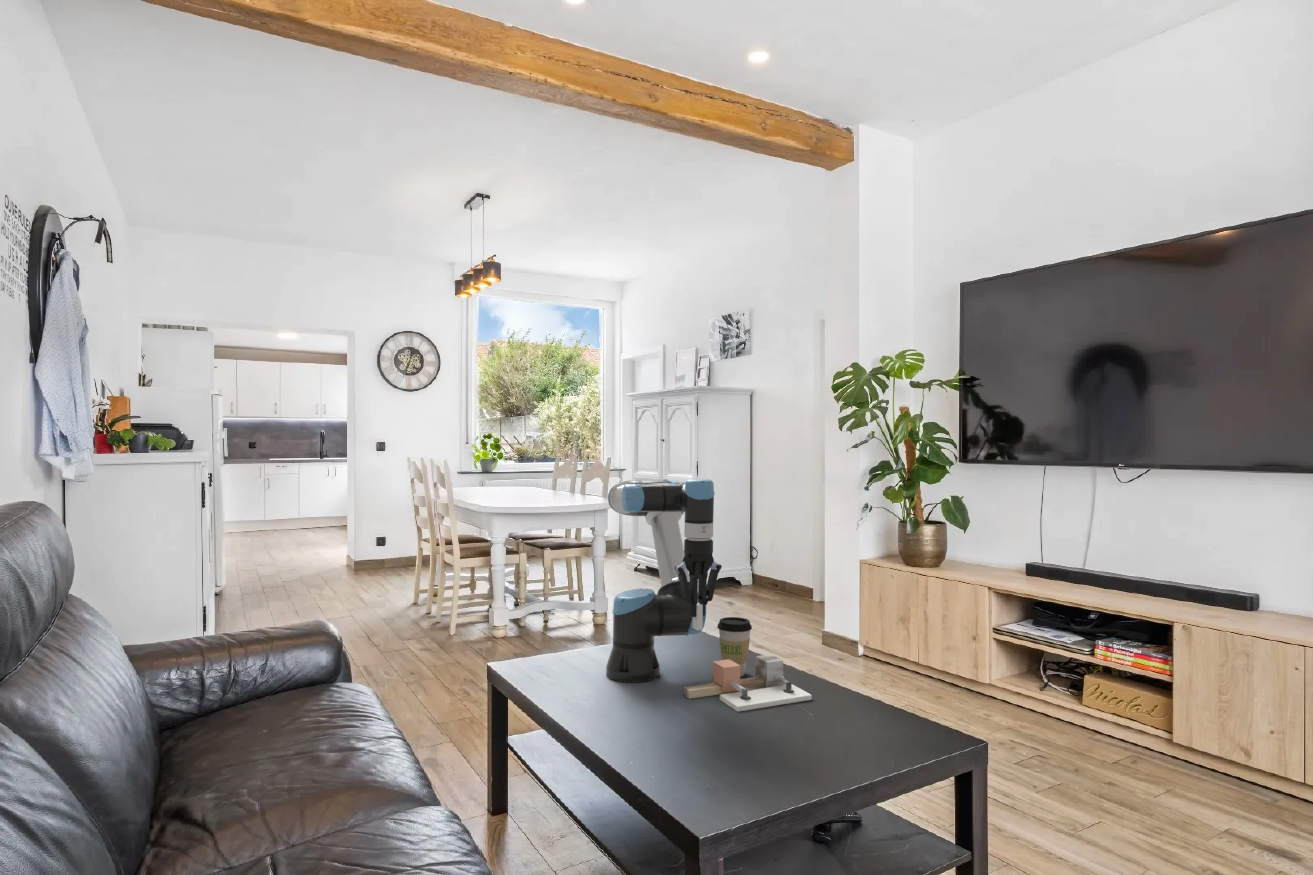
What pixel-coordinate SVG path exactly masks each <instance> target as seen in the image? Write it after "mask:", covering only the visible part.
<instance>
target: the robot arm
mask: <svg viewBox="0 0 1313 875" xmlns="http://www.w3.org/2000/svg"><path fill="white" fill-rule="evenodd" d="M715 494H716V493H715V486H714V481H713V480H711V479H705V478H689V479H687V480H686V481H685V482H682V483H680V482H678V481H677V480H673V479H672V480H671V479H666V478H665V479H661V480H660V479H658V480H657V479H655V480H654V479H651V480H650V479H648V480H647V479H632V480H631V479H630V480H625V481H621V482H619V483H615V485H613V486H612V487H611V488H610V489H609V492H608V494H607V500H608V501H607V502H608V505H609V507H610V508H611V509H612V510H613V511H614V512H616V513H618V514H621V515H624V516H628V517H629V516H630V517H645V521H646V523H647V524H648V525H649V526H651V529H652V530H651V531H652V537H653V541H654V550H655V556H656V562H657V568H658V573H659V579H660V580H659V581H660V587H659V588H658V590H657V594H656V593H655V590H653V589H652V588H633V589H628V590H624V591H621V592H620V593H618V594H616V596H615V597H614V599H613V605H612V606H613V607H612V618H613V619H612V649H611V651H610V654H609V657H608V659H607V662H606V669H605V670H606V676H607V677H608V678H609V679H611V680H613V681H618V682H624V683H642V682H643V683H644V682H648V681H649V682H650V681H653V680H655V679H657V678H659V676H660V674H661V672H660V671H661V666H660V665H661V664H660V662H659V659H658V656H657V652H656V649H655V637H672V636H673V637H674V636H690V635H698V634H700V633H702V632H703V629H704V627H705V625H706V618H707V617H706V616H707V605H708V602H712V601H713V598H714V594H715V589H716V586H717V580H718V576H719V573H720V572H721V569H722V568H723V567H722V566H723V565H721V564H720V563H718V562H716V561H715V559H714V557H713V556H714V555H713V553H714V540H713V539H712V538H713V537H714V511H715V510H714V507H715V506H714V504H715V502H714V501H715ZM683 515H684V531H683V532H684V533H683V534H684V535H683V536H684V538H685V539H684V541H683V540H682V539H683V538H682V534H681V529H680V524H679V521H680V520H681V518H682V516H683ZM708 573H709V574H708Z"/></svg>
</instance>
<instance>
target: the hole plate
mask: <svg viewBox="0 0 1313 875" xmlns="http://www.w3.org/2000/svg"><path fill="white" fill-rule="evenodd" d="M812 697H813V695H812V694H810V693H809V692H807V691H805V690H803V689H802V688H800V687H798V686H796V685H795V684H792V686H791V690H788V689H786V686H785V685H782V686H776V687H769V688H765V687H764V688H757V689H751V690H747V696H742V692H740V691H737V692H731V693H724V694H719V700H720V701H721V702H723V703H724V704H725V705H726V706H728V707H730V708H731V709H733V710H734V711H736V712H743V711H750V710H756V709H761V708H763V709H764V708H769V707H775V706H780V705H787V704H793V703H800V702H804V701H812Z"/></svg>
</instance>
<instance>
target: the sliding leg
mask: <svg viewBox="0 0 1313 875" xmlns="http://www.w3.org/2000/svg"><path fill="white" fill-rule="evenodd" d="M740 679H741V676H740V665H738V664H737V663H735V662H733V661H731V660H730V659H727V660H721V659H720V660H714V661H712V683H718V684H720V685H721V692H729V691H736V690H738V691H737V692H742V696H747V691H748V690H747V689H746V688H744V687H742V686H741V685H740Z"/></svg>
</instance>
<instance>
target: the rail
mask: <svg viewBox="0 0 1313 875" xmlns="http://www.w3.org/2000/svg"><path fill="white" fill-rule="evenodd" d="M754 659H755V660H754V662H755V668H754V669H755V672H754V677H746V678H740V685H741V686H742V687H744V688H746V689H747V691H749V690H756V689H762V688H769V687H776V686H782V685H785V686H786V689H788V690H791V686H792V682H791V681H789V680H788V679H786V678H785V677H784V660H783V659H781V658H779V657H778V656H775V655H773V654H771V653H769V654H761V655H755V658H754ZM736 692H739V691H738V690H736V691H729V692H721V685H720V684H718V683H713V682H711V683H705V684H698V685H696V684H695V685H690V686H684V687H683V696H685V697H686V698H688V699H690V700H691V699H696V698H702V697H710V696H717V695H722V694H729V693H736Z"/></svg>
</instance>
